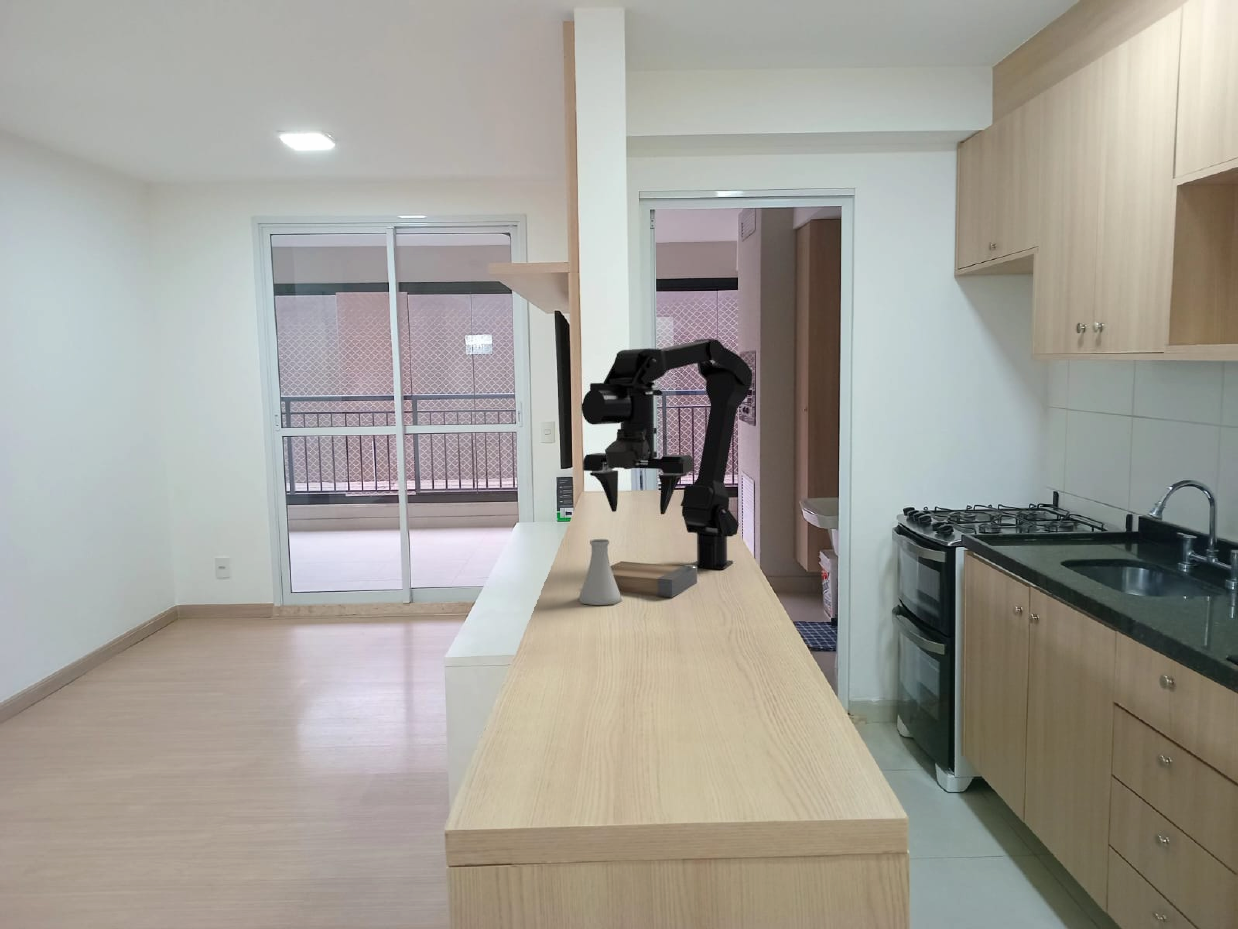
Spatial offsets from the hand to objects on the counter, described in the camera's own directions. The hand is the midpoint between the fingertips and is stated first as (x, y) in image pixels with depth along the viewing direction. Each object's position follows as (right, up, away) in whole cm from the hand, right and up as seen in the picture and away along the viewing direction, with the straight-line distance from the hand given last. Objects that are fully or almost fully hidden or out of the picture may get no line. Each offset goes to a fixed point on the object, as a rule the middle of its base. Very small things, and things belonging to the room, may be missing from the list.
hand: (638, 512), depth 148 cm
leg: (+7, -13, -2) cm, 15 cm away
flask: (-6, -14, -8) cm, 18 cm away
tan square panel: (0, -13, +1) cm, 13 cm away
